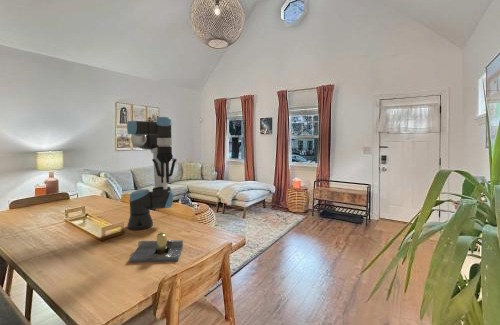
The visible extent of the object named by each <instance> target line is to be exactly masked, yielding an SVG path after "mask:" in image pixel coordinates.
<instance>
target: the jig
mask: <svg viewBox="0 0 500 325" xmlns="http://www.w3.org/2000/svg"><path fill="white" fill-rule="evenodd" d="M183 249H184V241H183V239H172V240H171V239H170V240H167V254H157V240H139V241H138V246H137V248H136V250H134V252H133V253H132V254H131V256H129V258H128V259H129V260H128V262H129V263H157V262H158V263H159V262H160V263H162V262H178V261H179V260H180V258H181V255H182V252H183Z"/></svg>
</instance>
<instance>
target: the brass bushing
mask: <svg viewBox="0 0 500 325" xmlns="http://www.w3.org/2000/svg"><path fill="white" fill-rule="evenodd" d="M156 241H157V254H167V233H166V232H160V233H157V234H156Z"/></svg>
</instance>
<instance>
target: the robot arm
mask: <svg viewBox="0 0 500 325" xmlns="http://www.w3.org/2000/svg"><path fill="white" fill-rule="evenodd" d="M172 125H173V124H172V118H171V117H169V116H168V117H167V116H166V117H165V116H158V117H156V121H153V120H152V121H151V120H149V121H148V120H147V121H146V120H145V121H143V120H128V121H127V122H126V130H127V131H126V133H127V134H128V135H131V136H130V141H131V144H132V145H133V146H135V147H137V148H139V149H142V150H150V152H151V154H152V156H153V157H152V159H151V160H152V162H153V175H154V176H153V178H154V186H153V188H152V191H150V190H149V189H147V188H146V189H145V188H144V189H138V190H134V191H133V192H131V193H130V194H129V218H128V222H127V229H128V230H132V231H141V230H147V229H150V228H152V227H153V226H154V221H153V219H152V215H151V210H160V209H164V210H165V209H168V208H171V207H172V206H173V201H174V190H173V189H172V188H171V186H169V183H170V177H172V176H173V174H174V169H175V165H176V162H177V161H178V159H177V158H175V157H174V155H173V147H172V141H173V139H172ZM170 162H171V166H170Z"/></svg>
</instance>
